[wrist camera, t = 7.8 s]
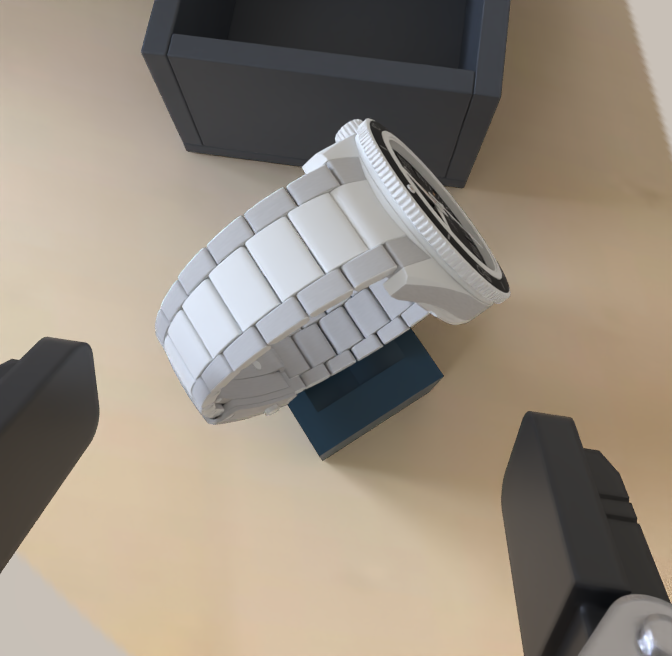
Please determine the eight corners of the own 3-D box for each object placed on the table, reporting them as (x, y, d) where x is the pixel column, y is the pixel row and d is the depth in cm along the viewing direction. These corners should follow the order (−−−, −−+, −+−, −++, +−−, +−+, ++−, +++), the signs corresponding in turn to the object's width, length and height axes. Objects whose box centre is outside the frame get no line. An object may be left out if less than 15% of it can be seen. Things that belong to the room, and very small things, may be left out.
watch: (476, 361, 21) (608, 237, 11) (277, 490, 20) (206, 493, 10) (386, 234, 23) (426, 10, 12) (194, 350, 22) (51, 216, 11)
